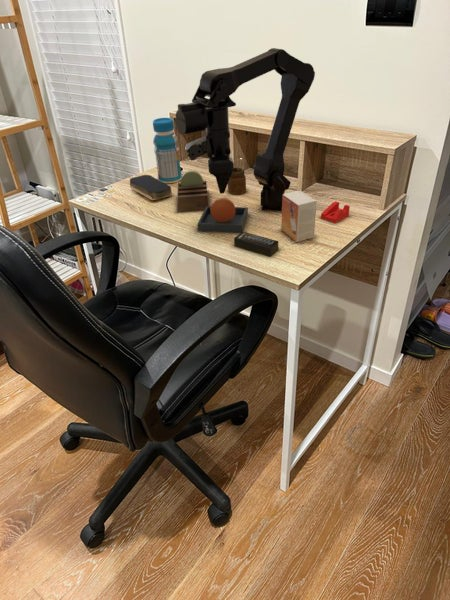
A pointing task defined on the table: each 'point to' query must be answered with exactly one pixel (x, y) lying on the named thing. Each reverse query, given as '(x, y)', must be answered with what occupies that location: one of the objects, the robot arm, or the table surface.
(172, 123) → the beverage bottle
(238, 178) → the utensil holder
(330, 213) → the bracket
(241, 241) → the multiport hub
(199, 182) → the sage disc
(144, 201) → the table surface
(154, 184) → the black sponge
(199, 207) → the rack
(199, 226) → the tray
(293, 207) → the small box
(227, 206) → the terracotta disc
